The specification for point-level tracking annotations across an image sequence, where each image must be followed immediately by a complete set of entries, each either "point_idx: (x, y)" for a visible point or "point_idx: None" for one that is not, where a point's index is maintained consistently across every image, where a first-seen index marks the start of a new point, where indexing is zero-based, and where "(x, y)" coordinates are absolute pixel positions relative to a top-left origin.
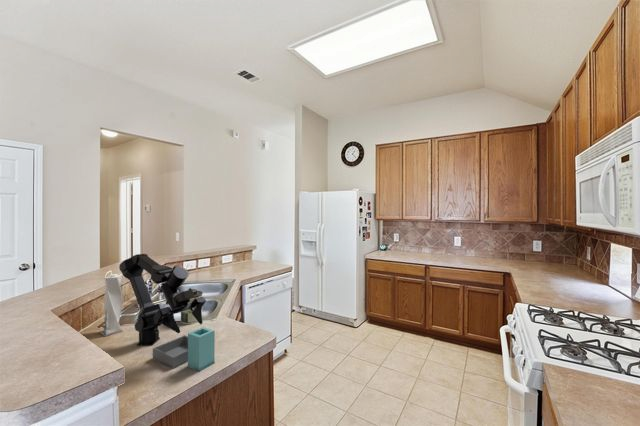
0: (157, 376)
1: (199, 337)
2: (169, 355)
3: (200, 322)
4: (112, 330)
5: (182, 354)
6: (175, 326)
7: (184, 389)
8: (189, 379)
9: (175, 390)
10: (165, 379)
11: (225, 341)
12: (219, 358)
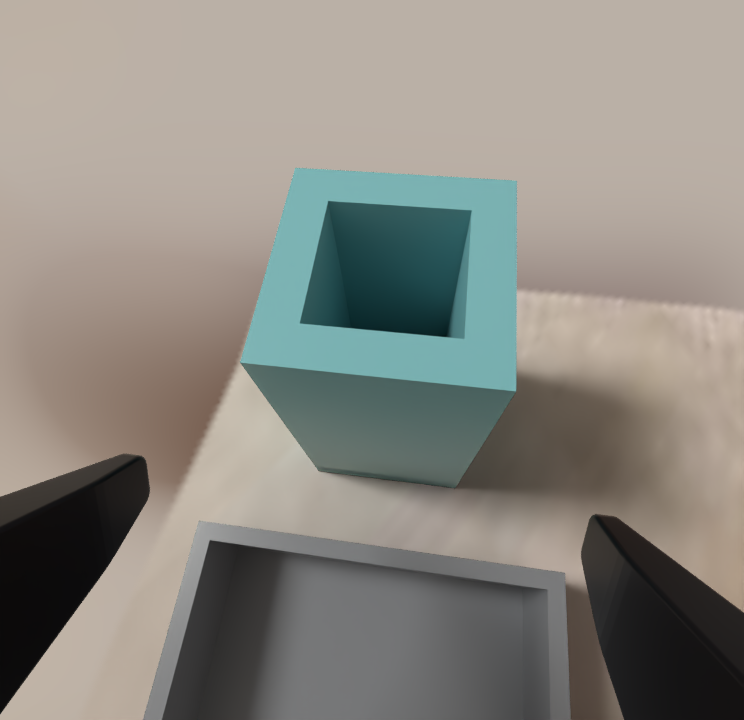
0: None
1: (513, 182)
2: (564, 660)
3: (131, 489)
4: None
5: (461, 559)
6: (734, 606)
7: (626, 303)
8: (551, 351)
9: (665, 338)
10: (648, 498)
11: None
12: None
